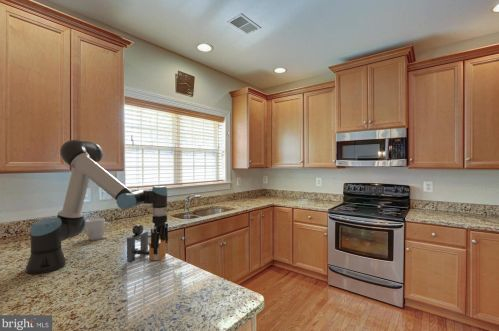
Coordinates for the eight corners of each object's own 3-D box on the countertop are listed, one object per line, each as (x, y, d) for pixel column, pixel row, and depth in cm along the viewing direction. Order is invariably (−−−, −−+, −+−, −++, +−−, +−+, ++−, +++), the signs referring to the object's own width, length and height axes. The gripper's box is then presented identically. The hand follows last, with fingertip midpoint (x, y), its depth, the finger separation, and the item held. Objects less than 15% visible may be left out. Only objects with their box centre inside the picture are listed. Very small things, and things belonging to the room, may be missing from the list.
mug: (109, 234, 178) (109, 216, 178) (112, 238, 170) (112, 219, 169) (85, 238, 169) (85, 219, 169) (86, 242, 160) (87, 222, 160)
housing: (131, 262, 128) (131, 228, 128) (126, 261, 129) (126, 228, 129) (147, 252, 142) (147, 222, 142) (143, 252, 143) (143, 222, 143)
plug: (130, 258, 133) (130, 241, 133) (137, 254, 139) (137, 238, 139) (159, 260, 130) (159, 243, 130) (165, 256, 136) (165, 240, 136)
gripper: (156, 218, 123) (156, 265, 123) (174, 211, 142) (174, 251, 142) (142, 218, 124) (142, 263, 124) (162, 211, 143) (162, 251, 143)
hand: (159, 257), depth 133 cm, fingers closed on plug, 6 cm apart
